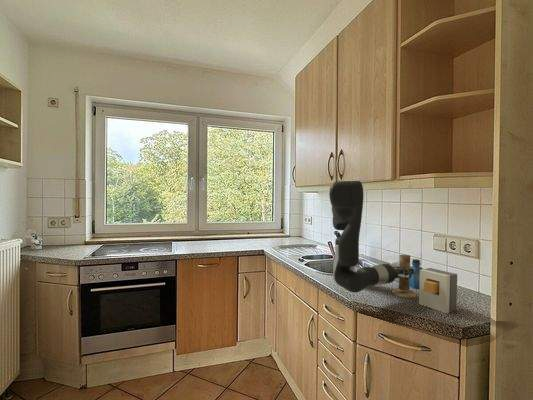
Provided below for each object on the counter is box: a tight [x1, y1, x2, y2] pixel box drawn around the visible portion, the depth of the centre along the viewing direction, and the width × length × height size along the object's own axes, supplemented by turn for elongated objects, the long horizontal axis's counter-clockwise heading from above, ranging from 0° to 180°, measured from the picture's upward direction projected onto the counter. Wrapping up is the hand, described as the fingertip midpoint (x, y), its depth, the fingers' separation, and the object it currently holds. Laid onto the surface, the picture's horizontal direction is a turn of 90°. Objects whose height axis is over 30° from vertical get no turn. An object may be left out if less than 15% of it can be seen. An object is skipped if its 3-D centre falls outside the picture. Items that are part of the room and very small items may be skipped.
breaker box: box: [418, 267, 458, 314], centre depth 110 cm, size 10×6×13 cm, turn 29°
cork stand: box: [391, 288, 417, 299], centre depth 124 cm, size 9×9×1 cm
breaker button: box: [424, 280, 439, 294], centre depth 108 cm, size 3×4×3 cm
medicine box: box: [391, 260, 400, 283], centre depth 146 cm, size 8×4×9 cm, turn 126°
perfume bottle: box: [410, 258, 424, 290], centre depth 136 cm, size 6×6×12 cm
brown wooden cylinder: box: [398, 254, 411, 291], centre depth 124 cm, size 4×4×14 cm
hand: (408, 269), depth 125 cm, fingers closed on brown wooden cylinder, 3 cm apart
